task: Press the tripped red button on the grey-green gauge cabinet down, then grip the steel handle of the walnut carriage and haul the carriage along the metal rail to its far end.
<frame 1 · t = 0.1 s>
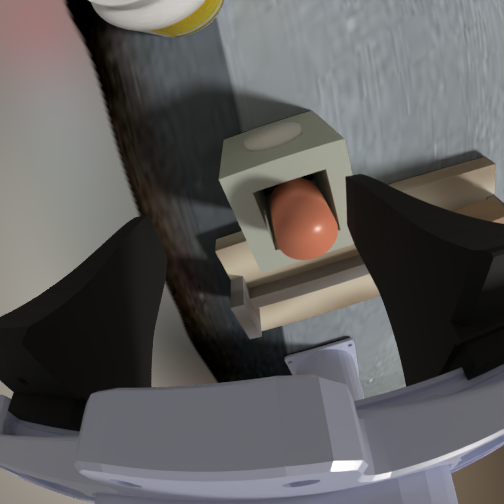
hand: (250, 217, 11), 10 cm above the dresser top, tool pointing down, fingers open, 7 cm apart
rail board: (374, 242, 25), on the dresser top
carriage: (485, 261, 18), point 6 cm above the dresser top, slide at 0.0 cm
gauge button: (301, 217, 15), point 7 cm above the dresser top, slide at 0.0 cm
gauge cabinet: (282, 164, 20), on the dresser top
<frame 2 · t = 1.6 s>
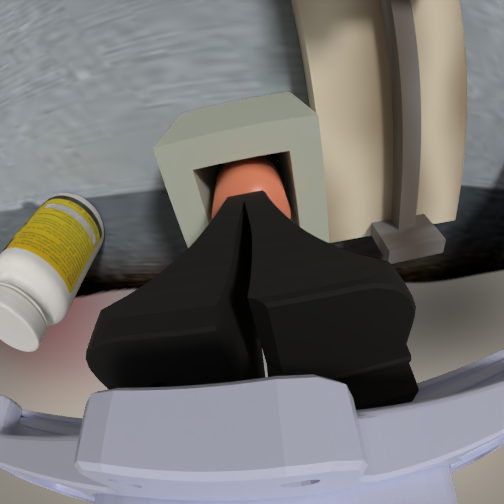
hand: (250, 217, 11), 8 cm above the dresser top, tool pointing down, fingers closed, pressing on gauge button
rail board: (384, 43, 13), on the dresser top
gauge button: (249, 198, 12), point 6 cm above the dresser top, slide at 0.8 cm, touching gripper
supplement bottle 2: (73, 222, 20), on the dresser top
gauge cabinet: (245, 150, 17), on the dresser top
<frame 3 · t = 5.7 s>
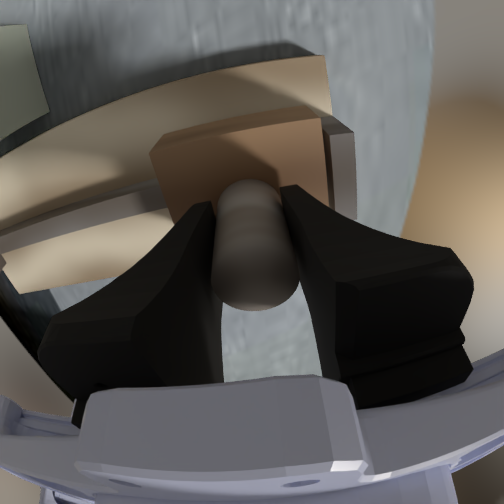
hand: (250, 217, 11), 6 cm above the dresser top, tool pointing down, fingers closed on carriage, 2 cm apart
rail board: (118, 189, 17), on the dresser top
carriage: (250, 218, 11), point 6 cm above the dresser top, slide at 0.0 cm, touching gripper
gauge cabinet: (2, 89, 12), on the dresser top
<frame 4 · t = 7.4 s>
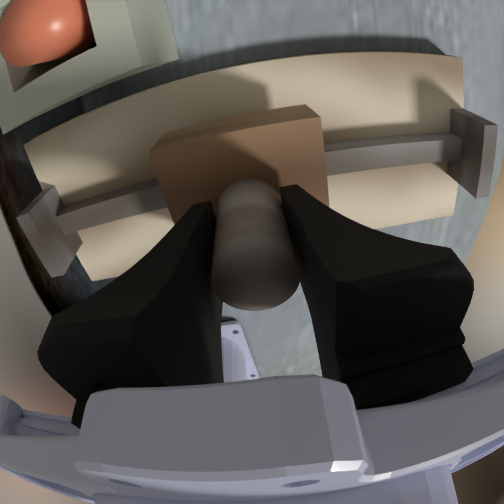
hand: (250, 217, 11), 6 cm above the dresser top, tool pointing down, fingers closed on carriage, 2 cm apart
rail board: (254, 156, 16), on the dresser top
carriage: (250, 218, 11), point 6 cm above the dresser top, slide at 8.0 cm, touching gripper
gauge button: (52, 24, 6), point 6 cm above the dresser top, slide at 1.3 cm
gauge cabinet: (110, 28, 11), on the dresser top
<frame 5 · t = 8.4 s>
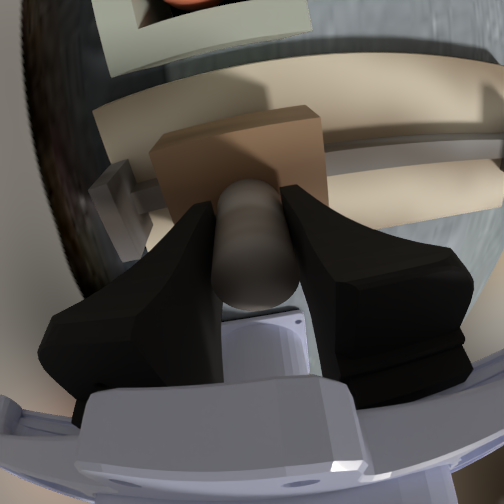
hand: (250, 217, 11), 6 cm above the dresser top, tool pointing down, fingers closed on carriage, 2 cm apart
rail board: (344, 142, 16), on the dresser top
carriage: (250, 218, 11), point 6 cm above the dresser top, slide at 12.9 cm, touching gripper
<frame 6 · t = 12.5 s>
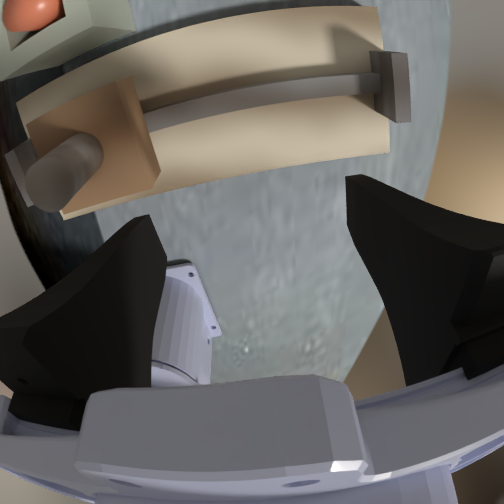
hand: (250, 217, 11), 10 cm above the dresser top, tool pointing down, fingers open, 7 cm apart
rail board: (195, 103, 18), on the dresser top
carriage: (77, 159, 13), point 6 cm above the dresser top, slide at 13.0 cm
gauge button: (39, 6, 8), point 6 cm above the dresser top, slide at 1.3 cm
gauge cabinet: (85, 11, 13), on the dresser top
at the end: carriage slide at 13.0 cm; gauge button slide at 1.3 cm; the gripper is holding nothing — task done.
